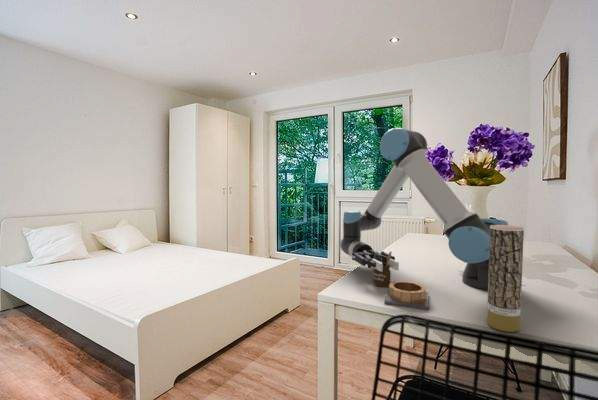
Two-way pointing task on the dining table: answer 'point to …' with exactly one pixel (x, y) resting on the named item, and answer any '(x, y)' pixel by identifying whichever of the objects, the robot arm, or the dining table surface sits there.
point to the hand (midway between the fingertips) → (389, 266)
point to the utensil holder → (382, 274)
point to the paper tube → (505, 277)
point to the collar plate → (407, 295)
